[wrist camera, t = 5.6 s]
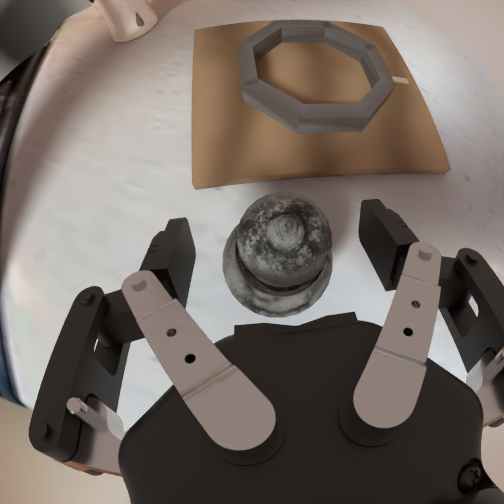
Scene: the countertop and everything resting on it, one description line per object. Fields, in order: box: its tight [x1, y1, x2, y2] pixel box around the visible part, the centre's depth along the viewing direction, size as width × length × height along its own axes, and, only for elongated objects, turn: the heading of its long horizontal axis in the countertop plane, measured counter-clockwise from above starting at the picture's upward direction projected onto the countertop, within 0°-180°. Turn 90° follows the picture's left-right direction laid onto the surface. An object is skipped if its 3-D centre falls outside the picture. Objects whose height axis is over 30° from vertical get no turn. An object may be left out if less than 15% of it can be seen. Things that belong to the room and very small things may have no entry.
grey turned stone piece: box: [223, 193, 332, 317], centre depth 12 cm, size 6×6×12 cm
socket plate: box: [192, 20, 450, 190], centre depth 19 cm, size 20×18×3 cm
